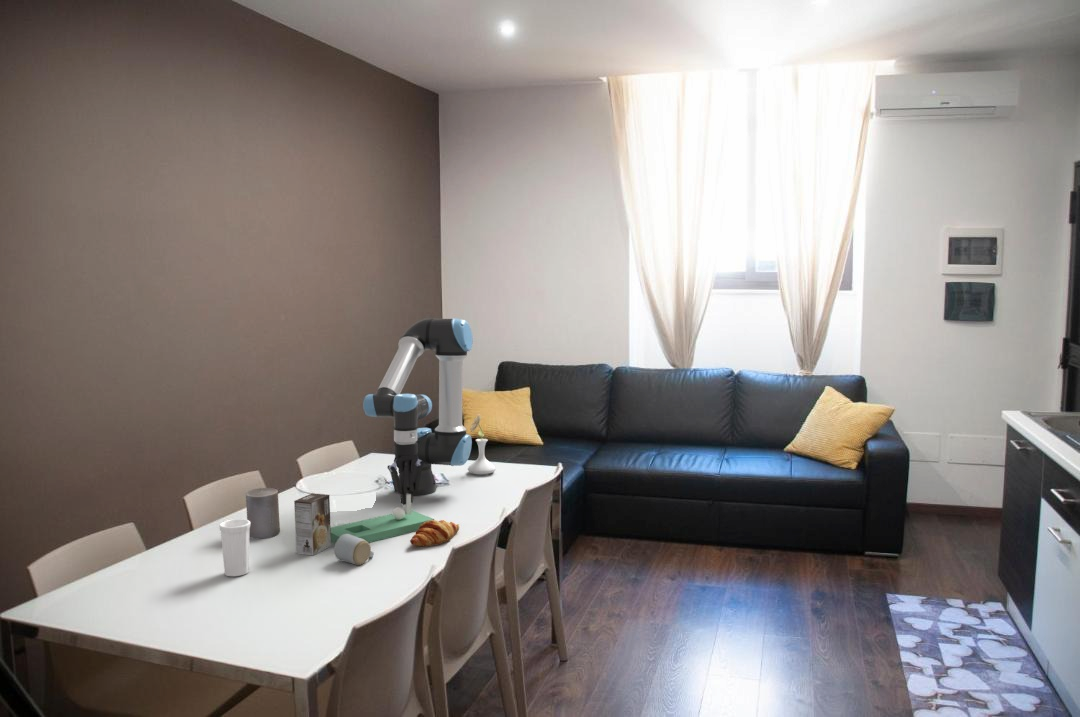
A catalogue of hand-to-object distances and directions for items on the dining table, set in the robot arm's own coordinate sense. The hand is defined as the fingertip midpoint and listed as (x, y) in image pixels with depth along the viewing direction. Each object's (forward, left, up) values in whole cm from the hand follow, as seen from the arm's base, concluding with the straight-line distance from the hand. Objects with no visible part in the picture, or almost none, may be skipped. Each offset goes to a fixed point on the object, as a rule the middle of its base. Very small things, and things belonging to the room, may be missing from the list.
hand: (406, 513), depth 278 cm
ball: (+3, 0, 0) cm, 3 cm away
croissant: (+1, +19, -5) cm, 19 cm away
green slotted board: (+10, 0, -4) cm, 11 cm away
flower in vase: (-60, -38, -4) cm, 71 cm away
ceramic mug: (+29, +18, -4) cm, 35 cm away
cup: (+59, +6, -4) cm, 59 cm away
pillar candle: (+39, -22, -4) cm, 45 cm away
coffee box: (+34, +2, -4) cm, 34 cm away
